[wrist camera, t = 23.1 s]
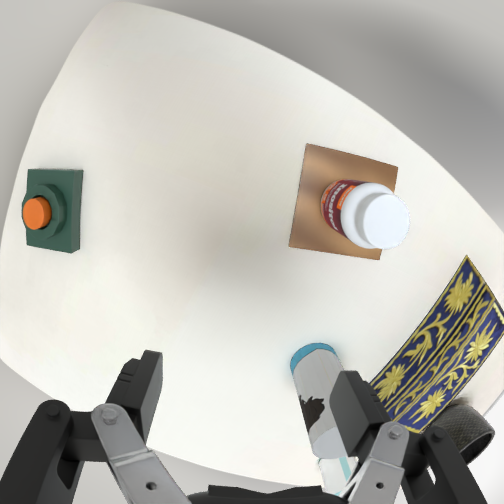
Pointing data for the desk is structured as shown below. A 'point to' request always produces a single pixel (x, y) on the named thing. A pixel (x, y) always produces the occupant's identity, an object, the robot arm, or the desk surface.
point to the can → (336, 473)
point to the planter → (465, 430)
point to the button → (37, 213)
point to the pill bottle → (365, 213)
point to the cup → (318, 397)
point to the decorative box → (442, 351)
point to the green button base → (56, 208)
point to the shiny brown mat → (312, 188)
